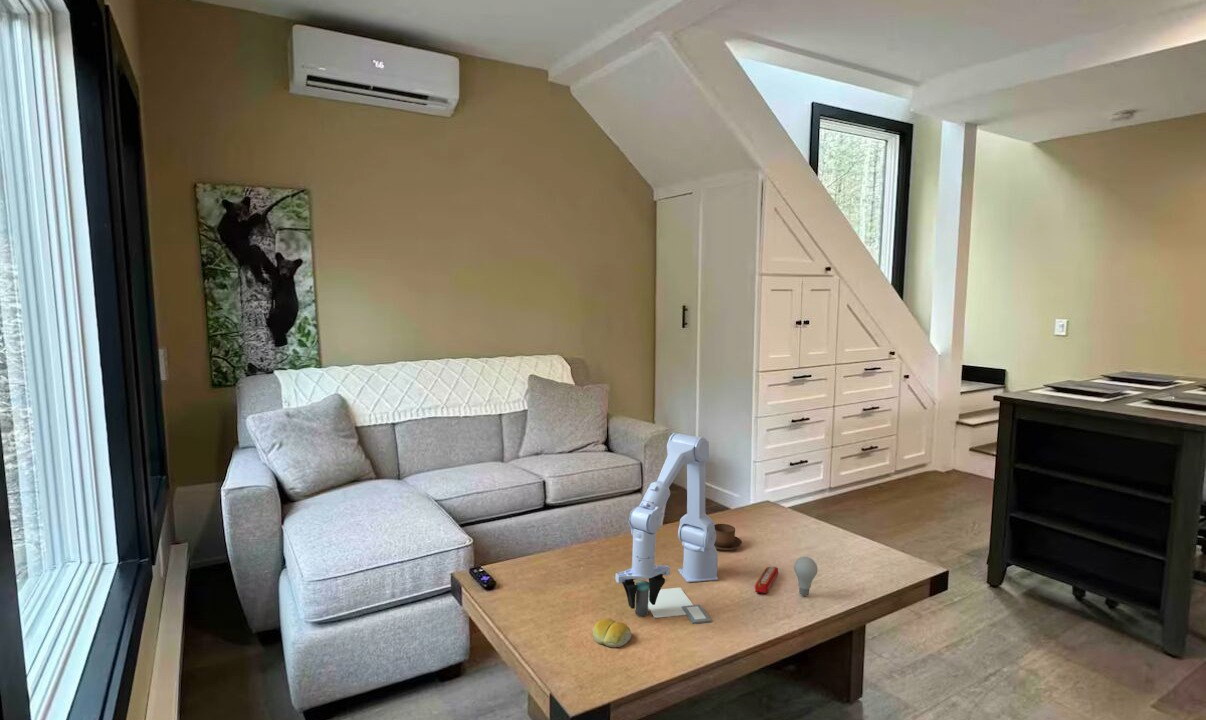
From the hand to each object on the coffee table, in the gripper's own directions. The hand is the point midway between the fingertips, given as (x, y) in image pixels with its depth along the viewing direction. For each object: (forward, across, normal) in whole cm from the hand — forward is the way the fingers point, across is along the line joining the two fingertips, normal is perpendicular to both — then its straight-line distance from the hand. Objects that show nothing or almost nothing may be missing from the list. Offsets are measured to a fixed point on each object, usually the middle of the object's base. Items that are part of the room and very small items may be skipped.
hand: (641, 604), depth 162 cm
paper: (+2, -9, -3) cm, 10 cm away
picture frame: (+2, -13, +6) cm, 14 cm away
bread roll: (+3, +12, +8) cm, 14 cm away
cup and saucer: (+3, -44, -30) cm, 53 cm away
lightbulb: (+2, -46, +7) cm, 47 cm away
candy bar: (+3, -41, -3) cm, 41 cm away
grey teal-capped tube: (+2, 0, 0) cm, 2 cm away
